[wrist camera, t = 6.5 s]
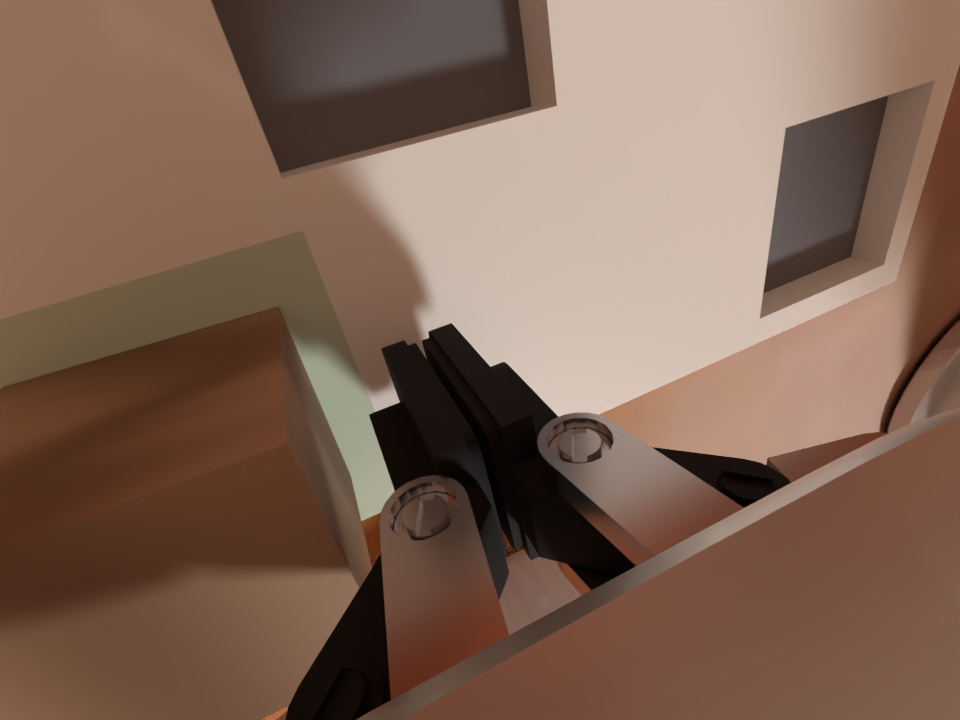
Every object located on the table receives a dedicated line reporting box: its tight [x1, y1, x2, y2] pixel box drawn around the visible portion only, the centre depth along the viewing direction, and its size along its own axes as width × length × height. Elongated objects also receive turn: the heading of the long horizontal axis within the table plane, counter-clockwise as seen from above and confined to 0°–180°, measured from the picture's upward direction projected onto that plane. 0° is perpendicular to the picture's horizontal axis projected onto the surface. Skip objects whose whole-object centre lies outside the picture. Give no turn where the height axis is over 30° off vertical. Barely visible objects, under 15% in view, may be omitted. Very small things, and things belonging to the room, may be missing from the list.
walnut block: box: [0, 306, 372, 720], centre depth 9 cm, size 5×5×5 cm
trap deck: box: [0, 0, 960, 521], centre depth 11 cm, size 28×16×2 cm, turn 101°
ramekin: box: [499, 549, 582, 635], centre depth 19 cm, size 11×11×5 cm
